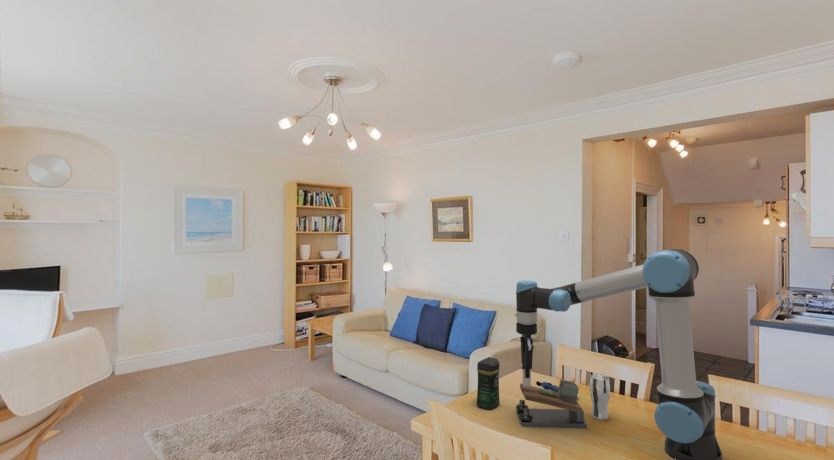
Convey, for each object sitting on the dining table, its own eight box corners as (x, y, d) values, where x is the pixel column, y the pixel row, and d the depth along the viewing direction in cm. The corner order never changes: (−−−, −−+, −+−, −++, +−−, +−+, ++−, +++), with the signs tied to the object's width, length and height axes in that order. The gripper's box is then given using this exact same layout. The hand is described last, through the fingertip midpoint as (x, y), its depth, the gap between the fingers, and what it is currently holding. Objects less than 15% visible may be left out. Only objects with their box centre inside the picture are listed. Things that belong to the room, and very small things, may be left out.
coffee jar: (492, 411, 164) (492, 364, 164) (474, 406, 168) (474, 360, 168) (502, 403, 172) (502, 357, 172) (484, 398, 176) (484, 354, 176)
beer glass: (589, 418, 158) (589, 378, 158) (590, 411, 164) (590, 372, 164) (609, 422, 154) (609, 381, 154) (610, 414, 161) (610, 375, 161)
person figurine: (580, 400, 179) (538, 385, 189) (582, 389, 179) (540, 376, 188) (574, 409, 170) (531, 393, 180) (576, 398, 170) (532, 383, 179)
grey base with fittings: (587, 428, 149) (587, 413, 149) (521, 426, 151) (521, 411, 151) (576, 413, 162) (576, 399, 162) (515, 411, 163) (515, 397, 163)
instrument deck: (581, 412, 150) (585, 392, 150) (525, 399, 151) (529, 379, 151) (571, 399, 162) (575, 380, 162) (519, 387, 163) (523, 368, 163)
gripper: (513, 318, 164) (513, 379, 164) (519, 326, 151) (519, 392, 151) (533, 318, 163) (533, 379, 163) (540, 326, 150) (540, 392, 150)
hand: (526, 385), depth 157 cm, fingers closed
